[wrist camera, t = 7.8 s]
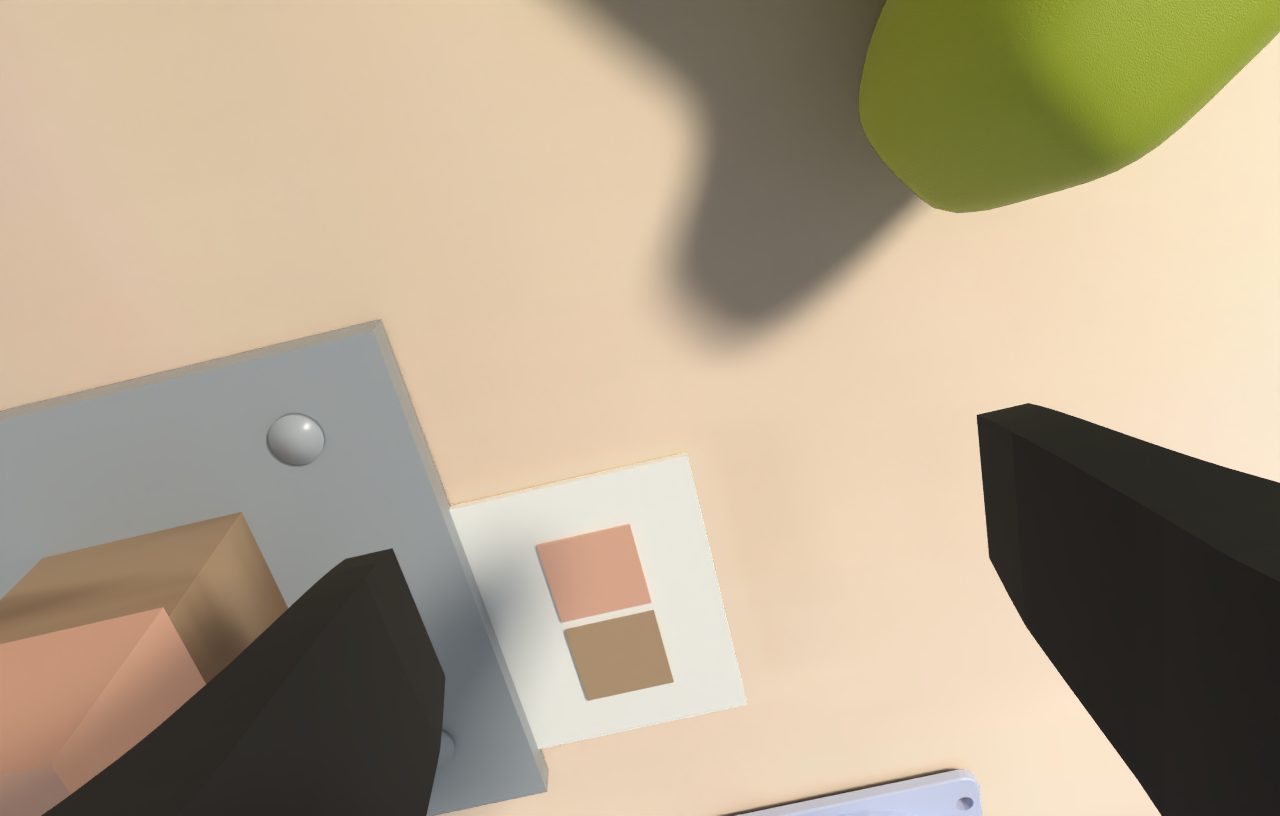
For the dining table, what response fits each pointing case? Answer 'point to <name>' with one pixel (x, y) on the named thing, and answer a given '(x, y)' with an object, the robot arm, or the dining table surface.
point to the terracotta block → (84, 703)
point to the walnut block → (157, 589)
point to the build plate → (280, 507)
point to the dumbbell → (1042, 88)
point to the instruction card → (604, 600)
